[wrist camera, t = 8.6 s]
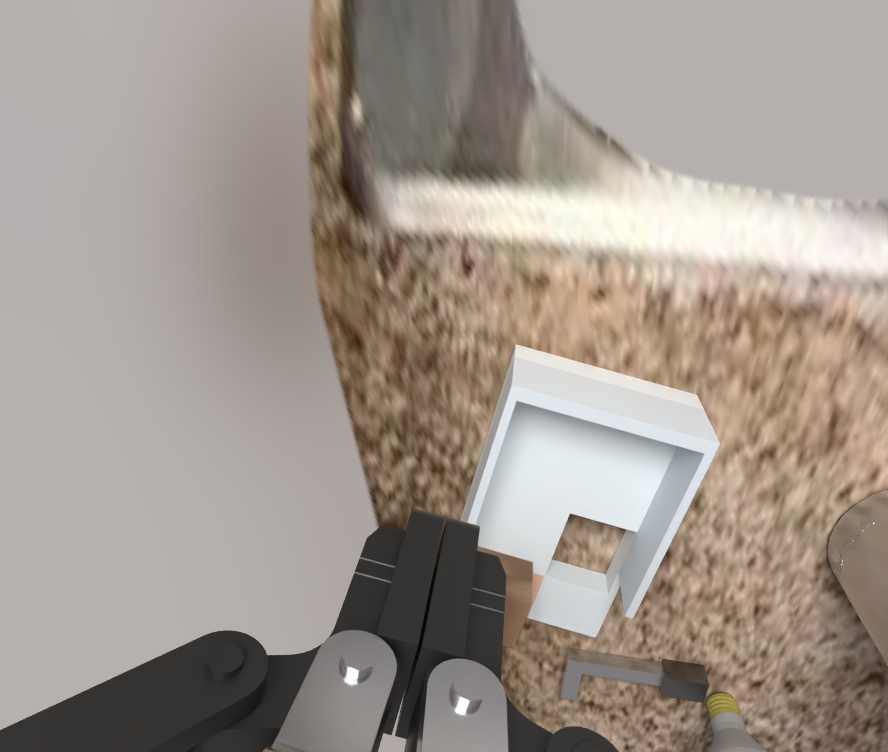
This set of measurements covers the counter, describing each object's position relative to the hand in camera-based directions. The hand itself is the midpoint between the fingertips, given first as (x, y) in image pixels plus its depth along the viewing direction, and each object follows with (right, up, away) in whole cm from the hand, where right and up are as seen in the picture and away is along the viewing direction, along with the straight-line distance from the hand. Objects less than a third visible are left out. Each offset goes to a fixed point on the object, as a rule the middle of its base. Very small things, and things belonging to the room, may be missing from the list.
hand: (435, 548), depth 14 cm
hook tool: (+14, -19, +37) cm, 44 cm away
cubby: (+8, -5, +31) cm, 32 cm away
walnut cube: (+4, -10, +32) cm, 34 cm away
